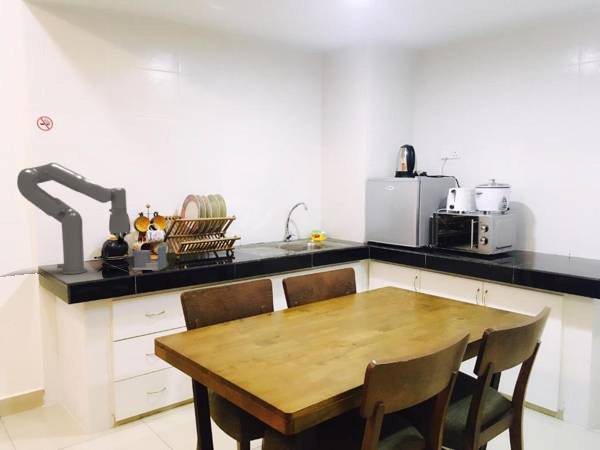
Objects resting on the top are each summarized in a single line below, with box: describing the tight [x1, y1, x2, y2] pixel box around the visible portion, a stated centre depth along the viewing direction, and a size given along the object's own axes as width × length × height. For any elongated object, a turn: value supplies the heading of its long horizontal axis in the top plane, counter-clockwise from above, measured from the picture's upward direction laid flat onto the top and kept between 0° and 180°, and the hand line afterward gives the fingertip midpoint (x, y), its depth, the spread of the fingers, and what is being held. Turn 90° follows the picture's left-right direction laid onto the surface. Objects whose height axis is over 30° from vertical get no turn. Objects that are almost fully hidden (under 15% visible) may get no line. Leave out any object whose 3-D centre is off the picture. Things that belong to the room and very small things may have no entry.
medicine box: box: [133, 249, 152, 268], centre depth 266 cm, size 8×4×9 cm, turn 89°
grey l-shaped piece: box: [131, 244, 168, 272], centre depth 266 cm, size 15×11×12 cm
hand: (120, 245), depth 266 cm, fingers closed
